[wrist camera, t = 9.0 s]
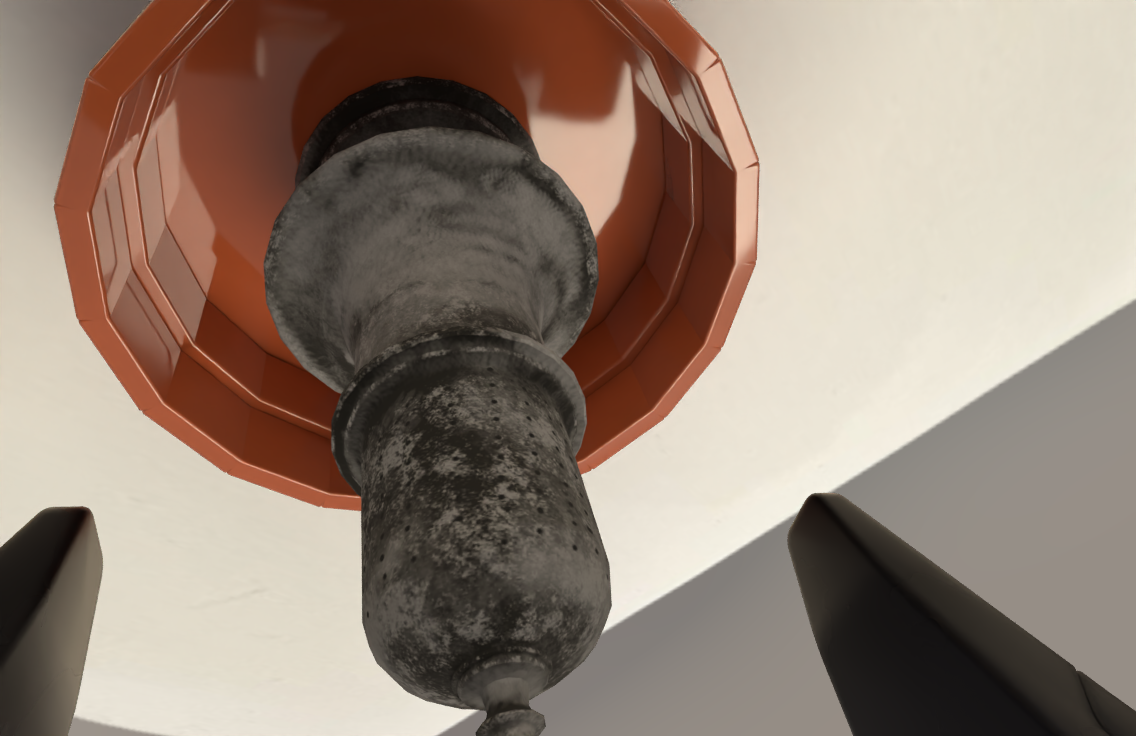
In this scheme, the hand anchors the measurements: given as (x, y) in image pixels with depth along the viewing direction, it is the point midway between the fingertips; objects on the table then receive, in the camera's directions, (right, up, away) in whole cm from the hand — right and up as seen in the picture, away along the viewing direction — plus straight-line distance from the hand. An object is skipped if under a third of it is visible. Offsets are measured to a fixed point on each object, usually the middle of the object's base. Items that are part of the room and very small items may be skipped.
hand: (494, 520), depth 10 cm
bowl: (-2, +6, +7) cm, 10 cm away
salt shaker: (-2, +6, +7) cm, 9 cm away
